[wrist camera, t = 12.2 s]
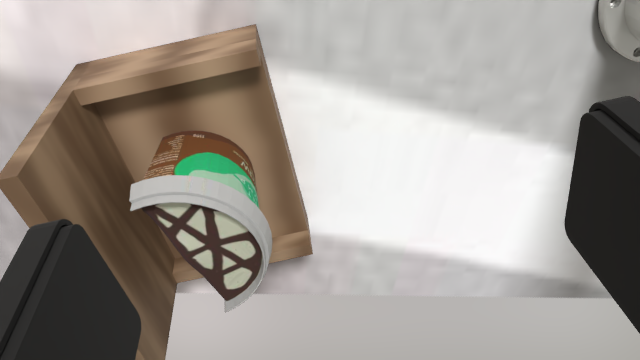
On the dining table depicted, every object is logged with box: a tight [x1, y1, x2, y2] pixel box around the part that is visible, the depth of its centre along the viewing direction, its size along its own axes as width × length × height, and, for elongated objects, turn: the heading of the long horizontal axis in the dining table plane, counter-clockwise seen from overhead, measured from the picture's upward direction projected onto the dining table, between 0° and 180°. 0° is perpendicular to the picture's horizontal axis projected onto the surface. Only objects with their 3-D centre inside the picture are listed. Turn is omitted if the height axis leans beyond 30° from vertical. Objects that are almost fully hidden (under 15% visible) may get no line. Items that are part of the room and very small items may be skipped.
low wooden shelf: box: [0, 24, 313, 360], centre depth 37 cm, size 14×20×15 cm
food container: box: [129, 130, 272, 312], centre depth 37 cm, size 12×6×10 cm, turn 25°
